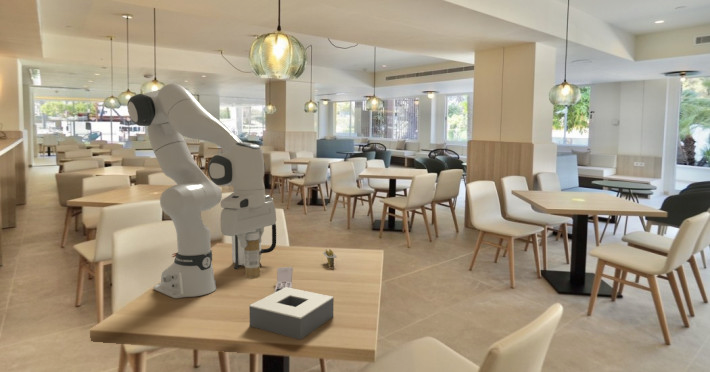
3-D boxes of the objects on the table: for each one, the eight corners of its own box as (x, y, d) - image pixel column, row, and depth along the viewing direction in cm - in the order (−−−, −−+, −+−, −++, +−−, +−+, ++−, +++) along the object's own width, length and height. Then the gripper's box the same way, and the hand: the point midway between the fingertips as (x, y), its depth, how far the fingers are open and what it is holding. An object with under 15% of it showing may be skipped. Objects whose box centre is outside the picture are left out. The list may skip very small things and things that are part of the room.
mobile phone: (293, 266, 172) (290, 288, 147) (293, 281, 173) (291, 305, 148) (277, 267, 171) (272, 289, 147) (277, 282, 172) (272, 306, 147)
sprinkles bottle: (261, 274, 135) (260, 230, 133) (259, 279, 130) (257, 233, 129) (246, 274, 135) (244, 230, 133) (243, 279, 130) (241, 234, 129)
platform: (321, 272, 185) (321, 256, 184) (311, 260, 202) (311, 246, 201) (348, 269, 189) (348, 254, 188) (336, 258, 206) (336, 244, 205)
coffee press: (248, 273, 181) (247, 199, 178) (221, 266, 190) (219, 196, 186) (277, 262, 196) (276, 195, 192) (250, 257, 204) (249, 192, 201)
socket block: (249, 326, 132) (249, 305, 131) (286, 305, 148) (286, 287, 147) (300, 339, 123) (300, 317, 123) (333, 316, 139) (333, 296, 139)
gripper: (264, 193, 141) (265, 236, 142) (215, 202, 123) (217, 251, 124) (280, 194, 138) (281, 238, 139) (233, 203, 120) (234, 254, 121)
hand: (251, 245), depth 131 cm, fingers closed on sprinkles bottle, 4 cm apart
